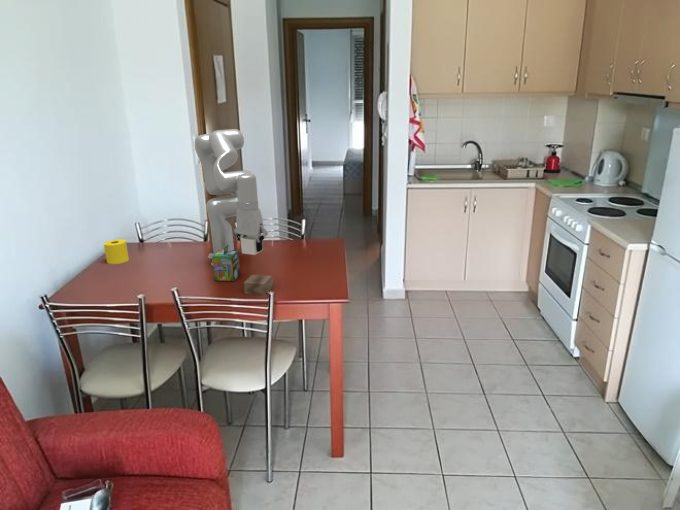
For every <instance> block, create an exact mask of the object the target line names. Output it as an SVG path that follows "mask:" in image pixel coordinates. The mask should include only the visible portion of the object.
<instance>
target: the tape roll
mask: <svg viewBox="0 0 680 510" xmlns="http://www.w3.org/2000/svg"><path fill="white" fill-rule="evenodd" d="M103 247H104V253H105V254H104V255H105V259H106V263H107V264H108V265H119V264H123V263H125V262H128V261H129V260H130V258H129V252H128V246H127V240H126V239H120V238H119V239H118V238H117V239H112V240H107V241H105V242H104V243H103Z"/></svg>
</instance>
